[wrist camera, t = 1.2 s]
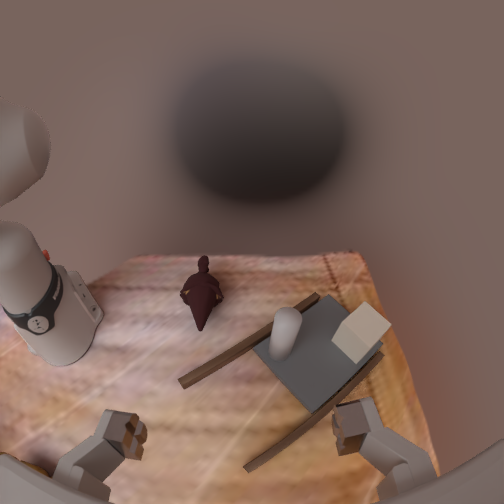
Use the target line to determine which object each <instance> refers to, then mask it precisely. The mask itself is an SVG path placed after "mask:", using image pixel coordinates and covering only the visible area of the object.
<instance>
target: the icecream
mask: <svg viewBox="0 0 504 504" xmlns="http://www.w3.org/2000/svg"><path fill="white" fill-rule="evenodd" d="M208 265H209V259H208V257H207V256H202V257H201V258H200V259H199V261H198V267H199V272H198V273H196V274H194V275H191V276H190V277H189V278H188V280H187V281H186V283H185V284H184V287H183V289H182V290H181V291H180V293H181V294H180V296H181V297H182V299H183V301H184V303H185V304H186V305H189V306H190V308H191V311H192V314H193V317H194V319H195V322H196V325H197V328H198V330H199V331H202V330H203V328H204V326H205V324H206V321H207V319H208V317H209V315H210V313H211V311H212V309H213V307H215V306H216V305H217V304H218V303H220V302H222V299H223V298H224V297H223V295H222V293H221V290H220V288H219V284H220V283H219V282H218V281H217V280H216V279H215V278H214V277H213V276H211V275H210V274H208V273H207V272H209V268H208Z"/></svg>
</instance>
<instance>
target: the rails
mask: <svg viewBox="0 0 504 504" xmlns="http://www.w3.org/2000/svg"><path fill="white" fill-rule="evenodd" d="M319 298H320V296H319V295H318V294H317V293H316V292H315V293H313V294H312V295H310V296H309V297H308V298H306V299H305V300H303V301H302V302H301V303H299V304H298V305H296V306H295V307H293V308H295V309H296V310H298V311H299V312H300V314H302V313H304V312H305V311H307V310H308V309H309V308H311V307H312V306H313V305H315V304H316V303H318V300H319ZM273 323H274V321H273V322H271V323H270V324H268V325H266V326H265V327H263V328H262V329H260V330H259V331H257V332H256V333H254V334H253V335H251V336H249V337H248V338H246V339H245V340H243V341H242V342H240V343H238V344H237V345H235V346H233V347H232V348H230V349H229V350H227V351H225V352H224V353H222V354H220V355H219V356H217V357H215V358H214V359H212V360H210V361H209V362H207V363H205V364H203V365H202V366H200V367H198V368H197V369H195V370H193V371H191V372H190V373H188V374H186V375H184V376H182V377H181V378H179V379H178V381H179V382H180V384H181V386H182V387H183V389H186V388H188V387H189V386H191V385H193V384H195V383H196V382H198V381H200V380H202V379H203V378H205V377H207V376H208V375H210V374H212V373H213V372H215V371H217V370H218V369H220V368H222V367H223V366H225V365H227V364H228V363H230V362H231V361H233V360H235V359H236V358H238V357H239V356H241V355H242V354H244V353H246V352H247V351H249V350H250V349H252V348H253V347H255V346H256V345H258V344H259V343H261V342H262V341H264V340H265V339H267V338H268V337H270V336H271V333H272V328H273ZM383 357H384V355H383V354H382V353H381V352H380V351H379V352H378V353H377V354H376V356H375V357H374V358H373V359H372V360H371V361H370V362H369V363H368V364H367V365H366V366H365V367H364V368H363V369H362V370H361V371H360V372H359V374H358V375H357V376H356V377H355V378H354V379H353V380H352V381H351V382H350V383H348V384H347V385H346V386H345V387H344V388H343V389H342V390H341V391H340V392H339V393H338V394H337V395H336V396H335V397H334V398H333V399H332V400H330V401H329V402H328V403H327V404H326V405H325V406H324V407H323V408H321V409H320V410H319V411H318V412H317V413H316V414H314V415H313V416H312V417H311V418H310V419H308V420H307V421H306V422H305V423H304V424H302V425H301V426H300V427H299V428H297V429H296V430H295V431H293V432H292V433H291V434H290V435H288V436H287V437H286V438H284V439H283V440H282V441H280V442H279V443H278V444H276V445H275V446H273V447H272V448H271V449H269V450H268V451H266V452H265V453H263V454H262V455H260V456H259V457H257V458H256V459H254V460H253V461H251V462H250V463H248V464H247V465H245V466H243V468H244V469H245V470H246V471H247V472H248V473H250V472H251V471H253V470H255V469H256V468H258V467H259V466H261V465H262V464H264V463H265V462H267V461H268V460H269V459H271V458H272V457H274V456H275V455H277V454H278V453H279V452H281V451H282V450H283V449H285V448H286V447H287V446H289V445H290V444H291V443H293V442H294V441H295V440H297V439H298V438H299V437H300V436H302V435H303V434H304V433H305V432H307V431H308V430H309V429H310V428H311V427H313V426H314V425H315V424H316V423H317V422H318V421H320V420H321V419H322V418H323V417H324V416H325V415H326V414H328V413H329V412H330V411H331V410H332V409H333V408H334V405H337V404H339V403H340V402H341V401H342V400H343V399H344V398H345V397H346V396H347V395H348V394H349V393H350V392H351V391H352V390H353V389H354V388H355V387H356V386H357V385H358V384H359V383H360V382H361V381H362V380H363V379H364V378H365V377H366V376H367V374H368V373H369V372H370V371H371V370H372V369H373V368H374V367H375V366H376V365H377V364H378V362H379V361H380V360H381V359H382V358H383Z"/></svg>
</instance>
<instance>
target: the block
mask: <svg viewBox="0 0 504 504" xmlns="http://www.w3.org/2000/svg"><path fill="white" fill-rule="evenodd" d="M391 325H392V324H390V323H389V322H388V321H387V320H386V319H385V318H384V317H383V316H381V315H380V314H379V313H378V312H377V311H376V310H375V309H373V308H372V307H371V306H370V305H369V304H368V303H367V302H365V301H364V302H363V303H362V304H361V305H360V306H359V307H358V308H357V309H356V310H355V311H354V312H352V313H351V314H350V315H349V316H348V317H347V318H346V319H345V320H343V321H342V323H341V324H340V326H339V328H338V330H337V331H336V333H335V335H334V337H333V338H332V340H331V341H332V342H333V343H335V344H336V345H337V346H338V347H339V348H340V349H341V350H342V351H343V352H344V353H345V354H346V355H347V356H348V357H349V358H350V359H351V360H352V361H353V362H354V363H355V364H357V363H358V362H359V361H360V360H361V359H362V358H363V357H364V356H365V355H366V354H367V353H368V352H369V351H370V350H371V349H372V348H373V346H374V345H375V344H376V343H377V342H378V341H379V340H380V339H381V337H382V336H383V335H384V334H385V332H386V331H387V330H388V329H389V327H390V326H391Z"/></svg>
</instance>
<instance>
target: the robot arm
mask: <svg viewBox="0 0 504 504" xmlns="http://www.w3.org/2000/svg"><path fill="white" fill-rule="evenodd" d="M50 150H51V142H50V135H49V131H48V128H47V126H46V124H45V122H44V121H43V119H42V118H41V117H40V115H39V114H37V113H36V112H35V111H33V110H32V109H30V108H27V107H23V106H19V105H16V104H13V103H11V102H9V101H6V100H5V99H4V98H2V97H0V207H2V206H3V205H5V204H7V203H9V202H11V201H12V200H14V199H16V198H17V197H18V196H20V195H21V194H22V193H23V192H25V191H26V190H27V189H29V188H30V187H31V186H32V185H33V184H35V183H36V182H37V181H38V180H40V179H41V178H42V177H43V176H44V173H45V171H46V169H47V166H48V162H49V158H50ZM48 260H50V257H49V254H48V252H47V250H44V251H41V249H40V247H39V246H38V243H37V242H36V240H35V238H34V236H33V234H32V233H31V231H30V230H29V229H28V228H26V227H25V226H24V225H22V224H20V223H18V222H10V221H1V220H0V303H1V305H2V306H3V309H4V311H5V313H6V314H7V316H8V317H9V318H10V320H11V321H12V322H14V327H15V329H16V331H17V332H18V333H19V334H20V335H21V337H22V338H23V339H24V340H25V341H26V342H27V344H28V350H29V351H30V352H31V353H32V354H34V355H38V356H40V357H42V358H43V359H44V360H45V361H46V362H48V363H49V364H52V365H55V366H65V365H69V364H71V363H73V362H75V361H76V360H78V359H79V358H80V357H81V356H82V355H83V354H84V353H85V352H86V351H87V349H88V348H89V346H90V344H91V342H92V340H93V336H94V333H95V329H96V327H97V325H98V324H99V322H100V321H101V320H102V318H103V311H102V310H101V308H100V307H99V305H98V304H97V302H96V301H95V299H94V298H93V296H92V294H91V293H90V291H89V290H88V288H87V286H86V285H85V283H84V281H83V280H82V278H81V276H80V275H79V273H78V272H77V271H70V272H67V271H66V270H65V268H64V266H62V265H52V264H51V263H50V262H49V261H48ZM94 310H95V311H94ZM333 411H334V414H333V415H332V429H333V434H334V435H335V436H336V437H337V440H336V447H337V451H338V455H339V456H343V455H347V454H352V453H356V452H359V454H361V455H362V456H363V457H364V458H365V459H366V460H367V461H369V462H370V463H371V464H372V465H373V466H374V467H375V468H377V469H378V470H379V471H380V472H381V473H383V474H384V475H385V476H386V477H385V478H384V479H383V480H382V481H381V482H380V483H379V485H378V486H377V487H376V488H377V492H378V496H379V500H380V501H379V502H375V503H372V504H504V439H500V440H498V441H497V442H496V443H494V444H493V445H491V446H490V447H488V448H487V449H485V450H484V451H482V452H481V453H479V454H478V455H476V456H475V457H473V458H472V459H470V460H468V461H467V462H465V463H463V464H462V465H460V466H458V467H456V468H454V469H453V470H451V471H449V472H447V473H445V474H443V475H441V476H439V477H437V475H436V472H435V470H434V467H433V465H432V462H431V460H430V457H429V455H428V452H426V451H424V450H423V449H421V448H419V447H418V446H416V445H415V444H413V443H411V442H410V441H408V440H407V439H405V438H403V437H402V436H400V435H399V434H397V433H396V432H394V431H393V430H391V429H390V428H388V427H386V428H384V426H383V424H382V421H381V419H380V416H379V413H378V411H377V408H376V406H375V403H374V401H373V399H372V398H371V397H366V398H362V399H359V400H354V401H350V402H345V403H341V404H337V405H334V408H333ZM146 440H147V428H146V426H145V424H144V423H143V422H141V421H139V416H138V415H137V414H136V413H128V412H120V411H115V410H108V409H106V410H105V411H104V412H103V414H102V416H101V419H100V421H99V423H98V426H97V428H96V431H95V433H94V436H90V437H88V438H87V439H86V440H84V441H83V442H82V443H80V444H79V445H78V446H76V447H75V448H74V449H72V450H71V451H69V452H68V453H67V454H65V455H64V456H63V457H61V458H60V459H59V462H58V464H57V467H56V469H55V472H54V475H53V477H52V479H51V478H49V477H47V476H45V475H43V474H41V473H40V472H38V471H36V470H34V469H32V468H31V467H29V466H27V465H25V464H24V463H22V462H20V461H19V460H17V459H16V458H14V457H12V456H11V455H9V454H2V455H0V504H114V503H110V502H108V500H109V496H110V492H111V489H110V487H108V486H107V485H105V484H104V483H102V482H103V481H104V480H105V479H106V478H107V477H108V476H109V475H110V474H111V473H112V472H113V471H114V470H115V469H116V468H117V467H118V466H119V465H120V464H121V463H122V462H123V461H124V460H125V458H128V459H134V460H140V461H141V459H142V455H143V451H144V448H143V446H142V444H143V443H145V442H146Z"/></svg>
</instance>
